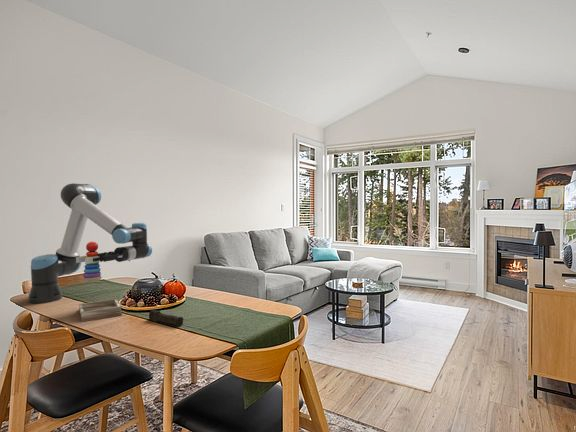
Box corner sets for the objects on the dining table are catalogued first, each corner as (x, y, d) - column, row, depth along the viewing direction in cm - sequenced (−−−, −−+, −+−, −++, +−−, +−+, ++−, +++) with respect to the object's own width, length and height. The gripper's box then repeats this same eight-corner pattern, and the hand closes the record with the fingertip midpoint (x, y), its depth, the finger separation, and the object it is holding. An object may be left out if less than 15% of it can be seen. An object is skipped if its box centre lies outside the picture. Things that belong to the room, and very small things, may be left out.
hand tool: (184, 325, 151) (183, 314, 151) (176, 328, 147) (176, 317, 147) (154, 317, 161) (154, 307, 160) (147, 320, 157) (146, 310, 157)
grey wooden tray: (79, 310, 172) (78, 302, 171) (115, 304, 180) (115, 297, 180) (81, 321, 155) (81, 313, 155) (121, 315, 164) (121, 307, 163)
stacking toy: (93, 282, 166) (92, 242, 166) (78, 282, 168) (77, 242, 167) (105, 278, 174) (104, 240, 173) (91, 278, 176) (89, 240, 175)
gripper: (137, 262, 182) (94, 270, 162) (113, 259, 191) (69, 266, 171) (136, 247, 182) (93, 253, 161) (112, 245, 191) (68, 251, 170)
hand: (81, 260), depth 166 cm, fingers closed on stacking toy, 6 cm apart
